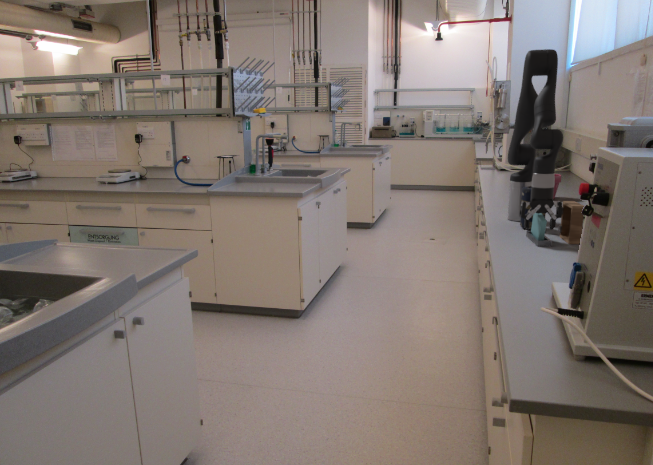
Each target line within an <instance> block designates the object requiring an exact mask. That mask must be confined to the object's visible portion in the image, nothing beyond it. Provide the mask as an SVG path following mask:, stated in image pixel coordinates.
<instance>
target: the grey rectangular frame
mask: <svg viewBox="0 0 653 465" xmlns="http://www.w3.org/2000/svg"><path fill="white" fill-rule="evenodd" d="M525 236H526V238H528V239H529V241H530V242H532V244H534V245H535V246H536V247H552V244H553V240H552V239H550V238H549V237H547V236H546V235H545V236H544V240H539V239H537V238H536V237H535V236H534V235H533V234H532V232H531V230H526V235H525Z"/></svg>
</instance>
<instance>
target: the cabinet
mask: <svg viewBox="0 0 653 465" xmlns="http://www.w3.org/2000/svg"><path fill="white" fill-rule="evenodd" d="M584 206H585V205H583V204H582V203H580V202H576V201H575V200H562V217H561V218H560V219H561V220H560V224H558V228H557V232H559V238H560V239H561V240H562V241H564V242H566V243H567V244H568V245H580V244H579V243H580V238H581V239H582V237H581V234H582V233H583V224H584V216H585V215H584V216H583V215H582V213H581V212H582V209H583V207H584ZM584 208H585V207H584Z"/></svg>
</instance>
